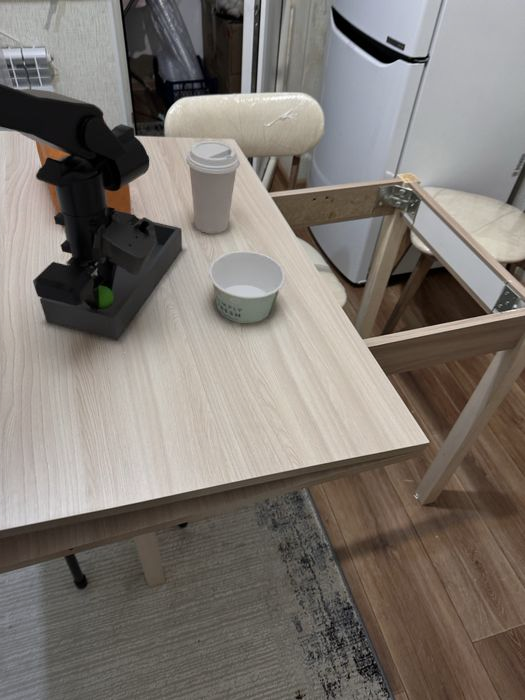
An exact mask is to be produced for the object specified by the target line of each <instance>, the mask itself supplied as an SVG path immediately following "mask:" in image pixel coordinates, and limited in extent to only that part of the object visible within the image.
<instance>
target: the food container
mask: <svg viewBox="0 0 525 700" xmlns="http://www.w3.org/2000/svg"><path fill="white" fill-rule="evenodd" d="M208 278H209V280H210V282H211V284H212V286H213V293H214V297H215V303H216V308H217V310H218V312H219V313H220V314H221V315H222V316H223V317H224V318H226V319H227V320H230V321H232V322H236V323H239V324H253V323H258V322H261V321H263V320H265V319H266V318H267V317H268V316H270V314H271V313H272V310H273V307H274V305H275V302H276V299H277V297H278V295H279V292H280V290H281V289H282V288H283V286H284V285H285V282H286V272H285V270H284V268H283V266H282V265H281V264H280V263H279V262H278V261H277V260H276V259H274V258H272V257H271V256H268V255H266V254H264V253H261V252H257V251H250V250H237V251H236V250H235V251H230V252H226V253H224V254H222V255H219V256H218V257H217V258H215V259H214V260H213V261H212V262H211V263H210V265H209V267H208Z"/></svg>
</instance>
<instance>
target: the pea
mask: <svg viewBox="0 0 525 700" xmlns="http://www.w3.org/2000/svg"><path fill="white" fill-rule="evenodd" d="M98 288H99V309H101V310H102V309H107V308H109V307H110V306H111V305H112V303H113V300H114V296H113V293H112V291H111V290H110V289H109V288H108V287H106V286H99V287H98Z"/></svg>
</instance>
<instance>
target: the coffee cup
mask: <svg viewBox="0 0 525 700" xmlns="http://www.w3.org/2000/svg"><path fill="white" fill-rule="evenodd" d="M185 161H186V164H187V165H188V167H189V175H190V176H189V177H190V185H191V186H190V187H191V195H192V207H193V218H194V225H195V228H196V229H197V230H198V231H200V232H202V233H204V234H209V235H210V234H212V235H216V234H220V233H223V232H225V231H227V229H228V228H229V222H230V216H231V215H230V214H231V207H232V201H233V193H234V187H235V181H236V180H235V179H236V173H237V170H238V169H239V168H240V165H241V164H240V159H239V156H238V154H237V152H236V149H235V147H233V146H232V145H230V144H229V143H226V142H223V141H218V140H201V141H198V142H195V143H193V144H192V146H191V147H190V150H189V152H188V153H187V155H186V159H185Z"/></svg>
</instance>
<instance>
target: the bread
mask: <svg viewBox="0 0 525 700" xmlns="http://www.w3.org/2000/svg"><path fill="white" fill-rule="evenodd" d="M104 122H105V123H106V125H107V126H108V124H107V122H106V120H104ZM35 145H36V150H37V154H38V157H39V161H40V165H41V167H42V166H43V165H44V163H45V161H46V158H48V157H49V158H52V159H55V160H58V159H60V158H62V157H64V156H66V155H69V154H68V153H65V152H62V151H60V150H57V149H54V148H51V147H48V146H45V145H42V144H40V143H38V142H36V141H35ZM46 185H47V188H48V190H49V191H48V192H49V193H50V196H51V199H52V202H53V205H54V208H55V211H56V215H57V214H58V213H59V212H60V207H59V203H58V198H57V194H56V189H55V186H54V185H51V184H48V183H46ZM105 191H106V198H107V204H108V207H111V208H115V210H116V211H120V212H124V213H129V214H132V206H131V204H132V202H131V201H132V200H131V191H130V183H129V184H127V185H125V186H124V187H122V188H120V189H119V190H117V191H109V190H106V189H105Z"/></svg>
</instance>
